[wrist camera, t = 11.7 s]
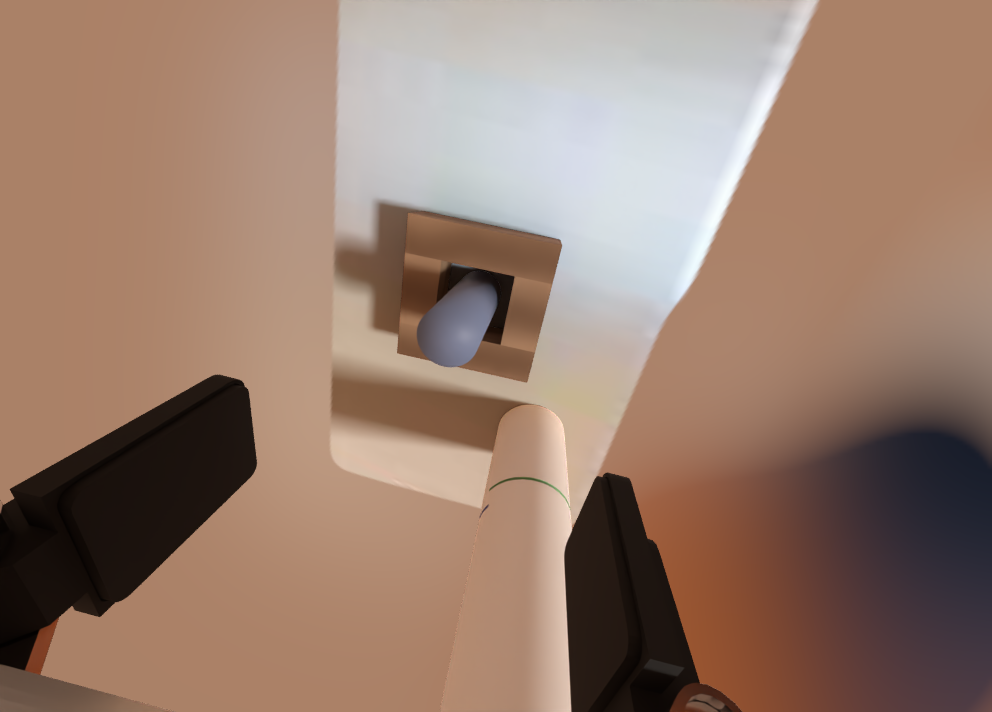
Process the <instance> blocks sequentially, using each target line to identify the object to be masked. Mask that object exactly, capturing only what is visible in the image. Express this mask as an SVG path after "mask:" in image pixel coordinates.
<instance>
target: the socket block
mask: <svg viewBox="0 0 992 712" xmlns="http://www.w3.org/2000/svg"><path fill="white" fill-rule="evenodd" d="M561 248H562V244H561V241H560V240H559V239H554V238H549V237H545V236H540V235H535V234H530V233H525V232H521V231H516V230H511V229H506V228H502V227H497V226H492V225H487V224H483V223H478V222H473V221H468V220H464V219H459V218H454V217H449V216H445V215H440V214H435V213H430V212H426V211H421V212H412V213H408V219H407V232H406V245H405V258H404V271H403V284H402V297H401V310H400V323H399V336H398V349H397V353H398V354H403V355H407V356H412V357H416V358H420V359H425V360H429V359H428V358H427V357H426V356H425V355H424V354H423V352H422V351H421V349H420V347H419V345H418V341H417V327H418V324H419V322H420V320H421V319H422V317H423V316H424V315H425V314H426V313H427V312H428V311H429V310H430V309H431V308H432V307H433V306H434V305H435V304H437V303H438V302H439V301H440V300H441V299H442V298H443V297H444V296H445V295H446V294H447V293H448V287H449V280H450V272H451V265H452V263H455V264H460V265H465V266H469V267H474V268H479V269H483V270H488V271H493V272H497V273H502V274H507V275H511V276H515V278H514V283H513V288H512V293H511V298H510V302H509V307H508V312H507V317H506V321H505V326H504V329H501V328H497V327H492V326H488V328H487V330H486V332H485V334H484V336H483V339H482V341H481V343H480V345H479V347H478V350H477V352H476V354H475V355H474V357H473V358H472V359H471V360H470V361H469V362H467V363H465V364H463V365H461V366H457V367H460V368H465V369H469V370H473V371H478V372H482V373H487V374H491V375H496V376H500V377H504V378H509V379H513V380H518V381H522V382H527V381H528V377H529V373H530V369H531V365H532V362H533V358H534V354H535V350H536V346H537V342H538V338H539V334H540V330H541V326H542V322H543V318H544V314H545V311H546V307H547V303H548V299H549V295H550V291H551V287H552V283H553V279H554V275H555V271H556V267H557V264H558V260H559V256H560V252H561ZM429 361H431V360H429Z"/></svg>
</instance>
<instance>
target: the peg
mask: <svg viewBox="0 0 992 712" xmlns="http://www.w3.org/2000/svg"><path fill="white" fill-rule="evenodd" d="M500 299H501V287H500V284H499V282H498V281H497V279H496V278H495V277H494V276H493V275H492V274H490V273H488V272H485V271H473V272H470V273H468V274H467V275H466V276H465V277H464V278H463V279H461V280H460V281H459V282H458V283H457V284H456V285H455V286H454V287H453V288H452V289H451V290H450V291H449V292H448V293H447V294H446V295H445V296H444V297H443V298H442V299H441V300H440V301H439V302H438V303H437V304H435V305H434V306H433V307H432V308H431V309H430V310H429V311H428V312H427V313H426V314H425V315H424V316H423V317H422V319H421V320H420V322H419V324H418V327H417V341H418V345H419V347H420V349H421V351H422V352H423V354H424V355H425V356H426V357H427V358H428V359H429V360H431V361H432V362H434V363H436V364H438V365H441V366H445V367H457V366H461V365H463V364H465V363H467V362H469V361H470V360H471V359H472V358H473V357H474V355H475V354H476V352H477V350H478V347H479V345H480V343H481V341H482V339H483V336H484V334H485V332H486V330H487V328H488V325H489V323H490V321H491V319H492V317H493V315H494V312H495V310H496V308H497V306H498V304H499V301H500Z"/></svg>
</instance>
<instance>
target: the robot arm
mask: <svg viewBox="0 0 992 712" xmlns="http://www.w3.org/2000/svg"><path fill="white" fill-rule="evenodd" d="M256 466H257V460H256V451H255V442H254V433H253V425H252V417H251V408H250V398H249V391H248V389H247V388H246V387H245V386H244V383H243V382H242V381H241V380H238V379H234V378H231V377H227V376H223V375H213V376H211V377H209V378H207V379H205V380H204V381H202V382H200V383H198V384H196V385H195V386H193V387H191V388H189V389H188V390H186V391H184V392H182V393H180V394H179V395H177V396H176V397H173V398H171V399H170V400H168V401H166V402H164V403H163V404H161V405H159V406H157V407H155V408H154V409H152V410H150V411H148V412H147V413H145V414H143V415H141V416H139V417H138V418H136V419H134V420H132V421H130V422H129V423H127V424H125V425H123V426H121V427H120V428H118V429H116V430H114V431H113V432H111V433H109V434H107V435H105V436H104V437H102V438H100V439H98V440H96V441H95V442H93V443H91V444H89V445H88V446H86V447H84V448H82V449H80V450H79V451H77V452H75V453H73V454H72V455H70V456H68V457H66V458H64V459H63V460H61V461H59V462H57V463H56V464H54V465H52V466H50V467H48V468H46V469H45V470H43V471H41V472H39V473H38V474H36V475H34V476H32V477H30V478H29V479H27V480H25V481H23V482H22V483H20V484H18V485H16V486H14V487H13V488H11V489H10V491H11V493H12V494H13V496H14V498H15V499H13V500H11V501H10V502H8V503H6V504H4V505H3V504H2V502H1V500H0V712H174V711H170V710H167V709H163V708H159V707H156V706H152V705H148V704H145V703H141V702H138V701H134V700H130V699H126V698H123V697H119V696H116V695H112V694H108V693H104V692H101V691H97V690H93V689H89V688H86V687H82V686H79V685H75V684H71V683H67V682H64V681H60V680H57V679H53V678H49V677H46V676H42V675H40V674H41V671H42V668H43V665H44V662H45V659H46V656H47V653H48V650H49V647H50V644H51V641H52V637H53V635H54V632H55V629H56V625H57V622H58V620H59V617H60V616H61V615H62V614H63V613H64V612H65V611H67V610H68V609H69V608H70V607H71V606H73V607H74V609H75V610H76V611H79V612H83V613H87V614H90V615H94V616H98V617H100V616H102V615H103V614H104V613H105V612H106V611H107V610H108V609H109V608H110V607H111V606H112V605H113V604H114V603H115V602H119V601H122V600H123V599H125V598H126V597H128V596H129V595H130V594H131V593H132V592H133V591H134V590H135V589H136V588H137V587H138V586H139V585H141V584H142V582H144V581H145V580H146V579H147V578H148V577H149V576H150V575H151V574H152V573H153V572H154V571H155V570H156V569H157V568H158V567H159V566H160V565H161V564H162V563H163V562H164V561H165V560H166V559H167V558H168V557H169V556H170V555H171V554H172V553H173V552H174V551H175V550H176V549H177V548H178V547H179V546H180V545H181V544H183V543H184V541H186V539H188V538H189V537H190V536H191V535H192V534H193V533H194V532H195V531H196V530H197V529H198V528H199V527H200V526H201V525H202V524H203V523H204V522H205V521H206V520H207V519H208V518H209V517H210V516H211V515H212V514H213V513H214V512H215V511H216V510H217V509H218V508H219V507H220V506H222V505H223V503H225V502H226V501H227V500H228V499H229V498H230V497H231V496H232V495H233V494H234V493H235V492H236V491H237V490H238V489H239V488H240V487H241V486H242V485H243V484H244V483H245V482H246V481H247V480H248V479H249V478H250V477H251V476H252V475H253V473H254V471H255V469H256ZM564 568H565V589H566V611H567V632H568V653H569V675H570V696H571V712H742V711H741V710H740V708H739V707H738V706H737V705H736V704H735V703H734V702H733V701H732V700H730V699H729V698H728V697H727V696H726V695H724V694H723V693H722V692H720V691H719V690H717V689H715V688H713V687H711V686H709V685H706V684H700V682H699V679H698V676H697V672H696V669H695V666H694V662H693V659H692V656H691V653H690V650H689V646H688V643H687V640H686V637H685V633H684V630H683V627H682V624H681V621H680V617H679V614H678V611H677V608H676V604H675V601H674V598H673V595H672V591H671V588H670V585H669V582H668V579H667V575H666V572H665V569H664V566H663V562H662V559H661V556H660V553H659V550H658V548H657V545H656V544H655V543H654V542H653V540H650V539H647V536H646V532H645V529H644V526H643V522H642V518H641V515H640V511H639V508H638V504H637V501H636V498H635V494H634V491H633V487H632V484H631V481H630V479H629V478H627V477H623V476H619V475H615V474H611V473H605V474H604V475H603V477H599V476H597V477H596V478H595V480H594V482H593V485H592V487H591V489H590V491H589V494H588V496H587V498H586V500H585V502H584V505H583V507H582V509H581V511H580V514H579V516H578V518H577V520H576V523H575V525H574V527H573V529H572V532H571V534H570V536H569V538H568V541H567V543H566V546H565V552H564Z"/></svg>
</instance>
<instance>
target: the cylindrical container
mask: <svg viewBox="0 0 992 712" xmlns="http://www.w3.org/2000/svg"><path fill="white" fill-rule="evenodd" d="M571 532H572V526H571V513H570V500H569V488H568V475H567V462H566V449H565V436H564V428H563V425H562V423H561V421H560V419H559V418H558V417H557V415H555V414H554V413H553V412H552V411H550V410H549V409H547V408H544V407H542V406H538V405H520V406H517V407H515V408H513V409H511V410H509V411H508V412H507V413H506V414H504V416H503V417H502V418H501V420H500V423H499V426H498V431H497V436H496V441H495V445H494V450H493V455H492V460H491V465H490V469H489V474H488V479H487V484H486V489H485V494H484V499H483V504H482V509H481V514H480V519H479V523H478V528H477V533H476V538H475V543H474V547H473V552H472V557H471V562H470V567H469V571H468V576H467V581H466V586H465V591H464V596H463V600H462V605H461V610H460V615H459V620H458V625H457V630H456V634H455V639H454V644H453V649H452V654H451V659H450V664H449V669H448V674H447V678H446V683H445V688H444V693H443V698H442V703H441V708H440V712H571V696H570V675H569V653H568V632H567V611H566V589H565V568H564V552H565V546H566V543H567V541H568V538H569V536H570V534H571Z"/></svg>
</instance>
